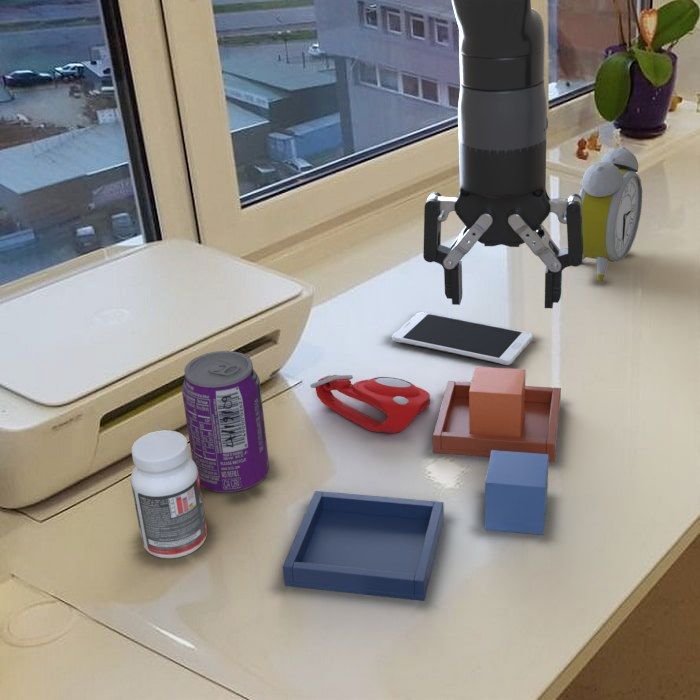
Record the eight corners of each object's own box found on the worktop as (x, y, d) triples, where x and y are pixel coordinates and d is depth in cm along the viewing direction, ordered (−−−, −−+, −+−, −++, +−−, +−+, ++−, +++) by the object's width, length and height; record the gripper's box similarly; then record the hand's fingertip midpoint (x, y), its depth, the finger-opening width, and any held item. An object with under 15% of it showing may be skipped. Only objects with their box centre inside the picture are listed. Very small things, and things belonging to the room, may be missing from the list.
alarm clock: (609, 287, 134) (616, 172, 127) (557, 278, 137) (562, 165, 130) (639, 253, 142) (648, 144, 135) (590, 245, 146) (596, 138, 138)
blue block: (547, 500, 96) (548, 454, 93) (543, 535, 91) (545, 487, 89) (491, 495, 97) (491, 449, 94) (484, 529, 92) (485, 482, 90)
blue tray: (443, 520, 94) (443, 501, 93) (424, 601, 85) (423, 581, 84) (316, 508, 96) (314, 490, 96) (284, 585, 87) (282, 566, 86)
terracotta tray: (560, 404, 110) (561, 387, 109) (554, 462, 101) (555, 444, 100) (448, 397, 112) (448, 380, 111) (432, 452, 103) (432, 435, 102)
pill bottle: (221, 538, 93) (207, 443, 89) (168, 570, 90) (151, 473, 85) (182, 512, 97) (167, 419, 92) (129, 541, 94) (111, 447, 89)
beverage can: (283, 464, 103) (271, 355, 97) (246, 505, 97) (232, 392, 92) (220, 450, 106) (205, 343, 100) (181, 489, 100) (163, 379, 95)
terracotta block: (524, 412, 108) (525, 369, 106) (520, 439, 104) (521, 394, 101) (475, 408, 109) (475, 366, 107) (469, 435, 105) (469, 391, 102)
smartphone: (510, 362, 117) (389, 336, 124) (510, 367, 117) (389, 341, 124) (535, 333, 122) (418, 310, 129) (535, 338, 123) (418, 315, 129)
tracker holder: (421, 372, 115) (445, 398, 105) (415, 412, 116) (438, 440, 106) (310, 362, 112) (325, 387, 103) (305, 403, 113) (319, 431, 104)
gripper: (413, 146, 90) (420, 318, 98) (585, 146, 87) (579, 324, 95) (427, 121, 97) (433, 284, 104) (588, 120, 93) (582, 289, 101)
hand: (503, 303), depth 99 cm, fingers open, 8 cm apart
